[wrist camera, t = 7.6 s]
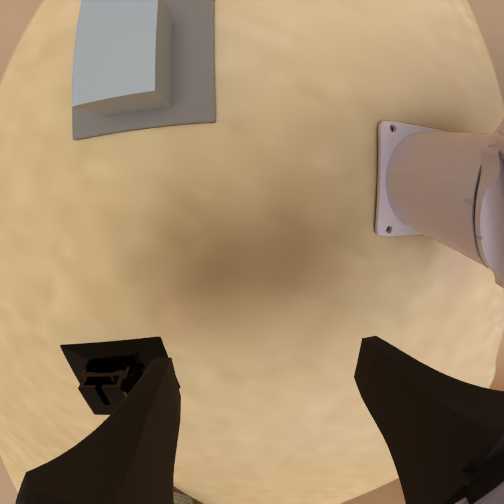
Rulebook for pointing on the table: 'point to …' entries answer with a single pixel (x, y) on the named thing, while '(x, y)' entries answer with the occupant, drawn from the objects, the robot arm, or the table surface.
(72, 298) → the table surface
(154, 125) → the mat
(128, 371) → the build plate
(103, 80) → the brick
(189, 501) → the milk carton
